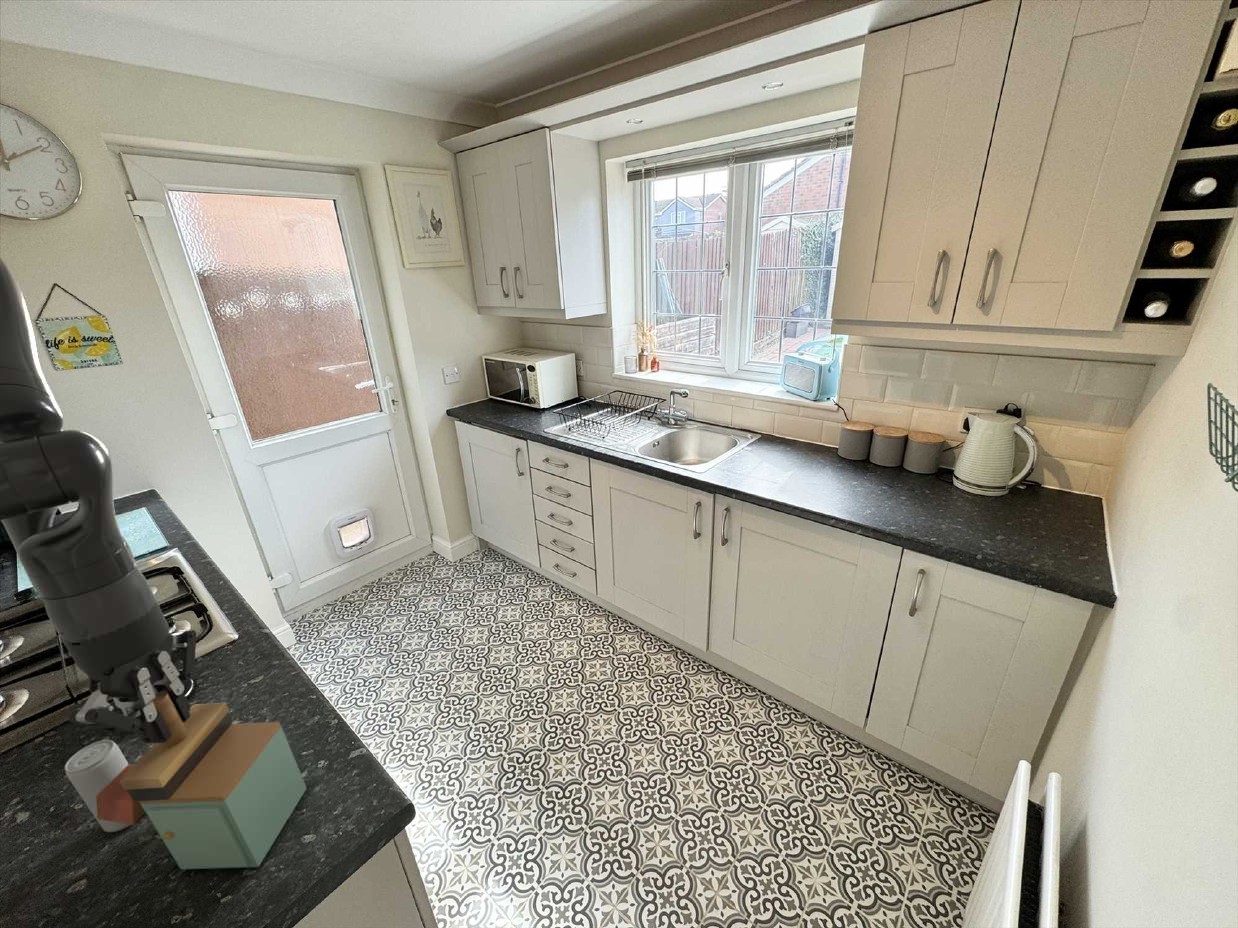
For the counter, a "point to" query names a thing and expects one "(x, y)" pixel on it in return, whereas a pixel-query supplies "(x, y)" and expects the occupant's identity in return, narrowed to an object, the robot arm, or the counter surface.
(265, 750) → the cupboard
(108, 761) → the beverage can
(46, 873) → the counter surface
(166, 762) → the brush
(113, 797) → the terracotta block
